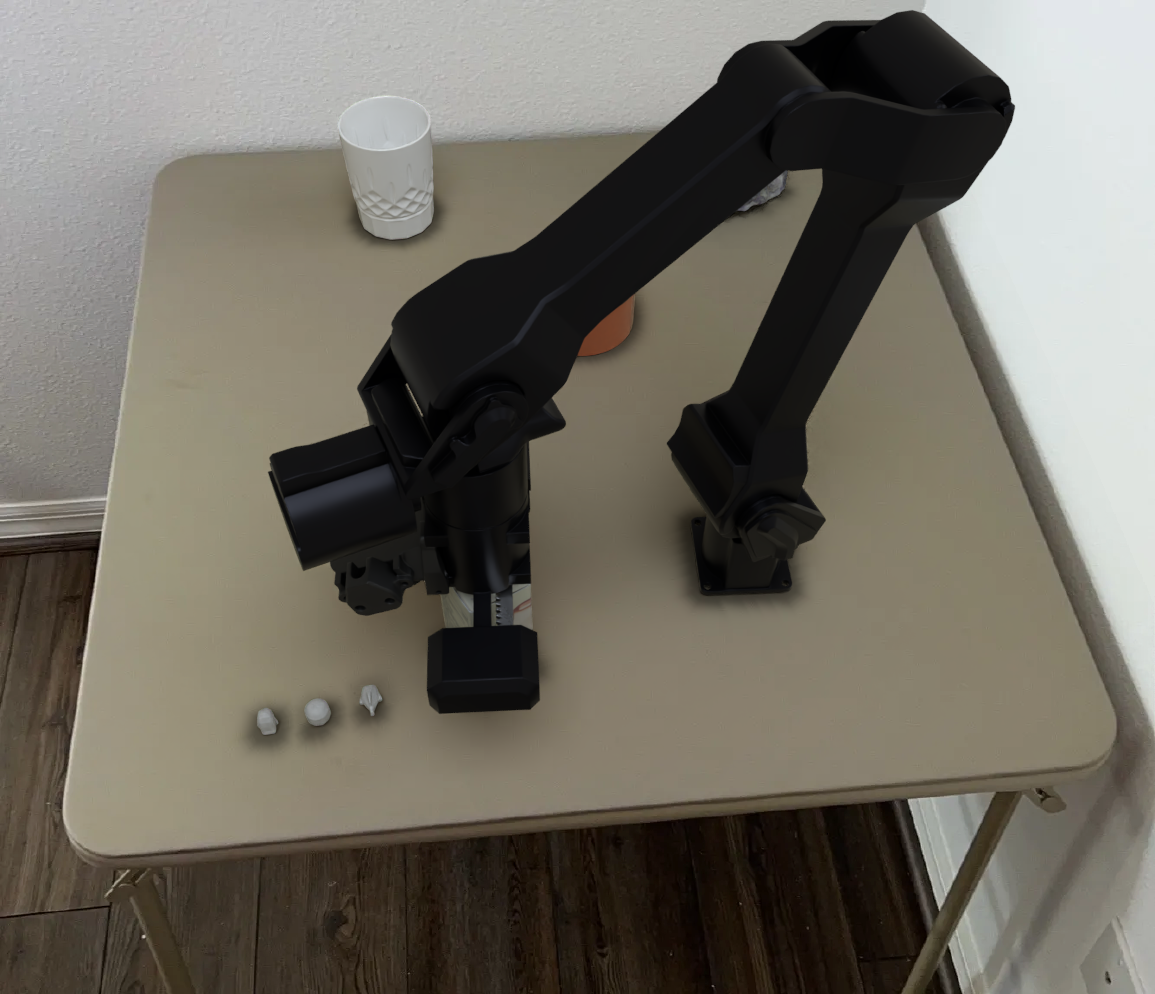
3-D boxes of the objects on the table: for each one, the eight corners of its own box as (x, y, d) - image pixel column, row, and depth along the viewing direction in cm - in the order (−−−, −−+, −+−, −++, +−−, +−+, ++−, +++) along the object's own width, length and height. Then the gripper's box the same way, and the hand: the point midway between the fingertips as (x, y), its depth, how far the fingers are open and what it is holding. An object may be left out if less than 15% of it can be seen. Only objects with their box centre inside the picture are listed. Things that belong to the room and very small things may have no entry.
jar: (639, 355, 93) (643, 308, 89) (527, 359, 93) (526, 311, 89) (629, 280, 99) (632, 232, 95) (524, 283, 99) (523, 235, 94)
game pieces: (381, 688, 75) (377, 674, 73) (385, 717, 73) (381, 703, 72) (258, 711, 73) (251, 697, 72) (259, 740, 72) (253, 727, 71)
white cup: (339, 234, 102) (321, 139, 94) (374, 182, 107) (359, 88, 99) (421, 252, 101) (409, 158, 93) (452, 199, 105) (444, 104, 97)
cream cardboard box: (537, 668, 76) (535, 587, 68) (478, 697, 74) (469, 618, 66) (501, 610, 78) (495, 525, 70) (444, 637, 77) (431, 554, 69)
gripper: (339, 369, 67) (372, 523, 80) (313, 643, 56) (357, 773, 68) (526, 363, 68) (531, 517, 80) (538, 634, 56) (541, 764, 69)
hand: (489, 633), depth 74 cm, fingers open, 8 cm apart
